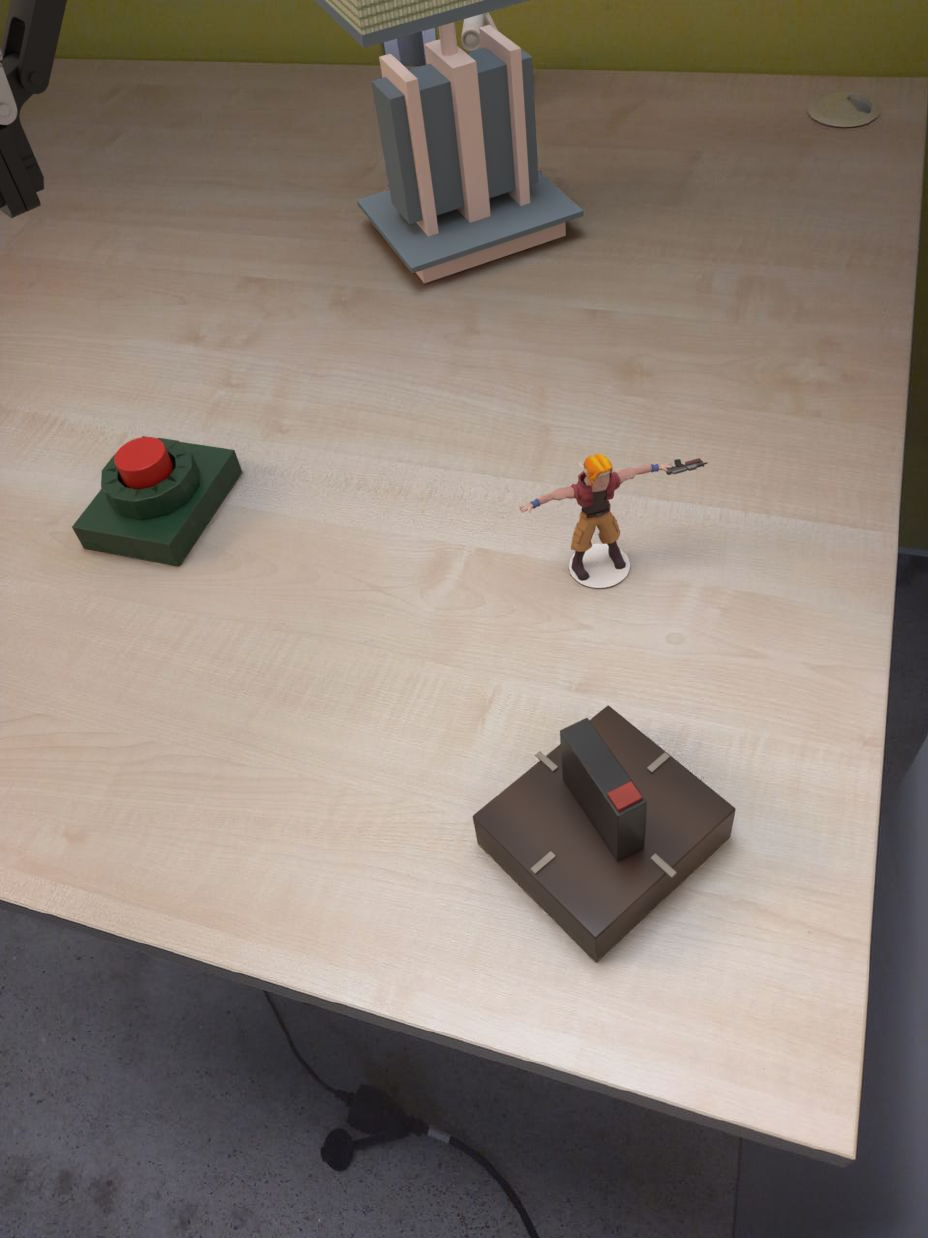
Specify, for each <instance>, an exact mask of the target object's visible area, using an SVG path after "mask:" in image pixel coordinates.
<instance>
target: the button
mask: <svg viewBox="0 0 928 1238" xmlns="http://www.w3.org/2000/svg"><path fill="white" fill-rule="evenodd" d="M157 438H158V437H154V436H146V437H142V436H140V437H137V438H134V439H132V440H129V441H127V442H125V443H124V444H123V445H121V446H120V447H119V448H118V450H117V451H116V453H114V454H115V458H114V462H115V465H116V467H117V469H118V471H119V473H120V475H121V477H122V479H123V481H124V483H125V484H126V485H127V486H129V487H131V488H134V489H144V488H149V487H153V486H155V485H157V484H159V483H160V482H162V481H164V480H165V479H167V478H168V476H169V475H170V474H171V472H172V468H173V464H172V461H171V459H170V457H169V454H168V452H167V450H166V447H165V445H164V443H163V442H162V441H161V440H159V439H157Z"/></svg>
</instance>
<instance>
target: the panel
mask: <svg viewBox="0 0 928 1238" xmlns="http://www.w3.org/2000/svg"><path fill="white" fill-rule="evenodd" d="M589 721H590V722H591V723H592V725H593V726H594V728H595V729H596V730H597V732H598V733H599V735H600V736H601V737H602V739H603V740H604V742H605V743H606V745H607V746H608V747H609V749H610V750H611V752H612V753H613V754H614V756H615V757H616V759H617V760H618V761H619V763H620V764H621V766H622V767H623V769H624V770H625V771H626V773H627V774H628V776H629V777H630V778H631V780H632V781H633V783H634V784H635V785H636V787H637V788H638V790H639V791H640V792H641V794H642V795H643V797H644V798H645V800H646V801H647V812H646V829H645V846H644V848H642V849H640V850H638V851H636V852H634V853H632V854H630V855H628V856H626V857H624V858H623V859H621V860H619V861H617V860H616V859H615V857H614V855H613V854H612V852H611V851H610V849H609V848H608V846H607V845H606V843H605V842H604V840H603V839H602V837H601V836H600V834H599V833H598V831H597V830H596V828H595V826H594V825H593V823H592V822H591V820H590V819H589V817H588V816H587V814H586V813H585V811H584V810H583V808H582V807H581V805H580V804H579V802H578V801H577V799H576V797H575V796H574V794H573V793H572V791H571V790H570V788H569V787H568V785H567V784H566V782H565V781H564V779H563V774H562V758H561V743H560V744H559V745H557V746H555V748H554V749H552V750H551V751H550V752H549V753H547V754H544V753H543V752H542V751H541V750H539V751H538V752H537V753H535V754H534V756H535V757H536V758H537V759H538V760H539V761H538V762H537V763H535V764H534V765H532V767H530V768H529V769H528V770H527V771H526V772H523V774H522V775H521V776H519V777H518V778H517V779H516V780H514V781H513V782H512V783H511V784H510V785H509V786H507V787H506V788H505V789H503V790H502V791H500V793H498V795H496V796H495V797H493V798H492V799H491V800H490V801H489V802H487V803H486V804H485V805H484V806H483V807H481V808H480V809H479V810H478V811H477V812H476V813H474V814H472V816H471V817H472V821H473V822H472V823H473V826H474V827H473V828H474V831H475V837H476V842H477V844H478V845H479V846H480V847H481V848H482V849H483V851H485V852H486V853H487V854H488V855H489V856H490V857H491V858H492V860H494V861H495V863H497V864H498V866H500V867H501V868H502V870H504V871H505V872H506V874H508V876H510V877H511V879H512V880H514V882H515V883H516V884H517V885H518V886H519V887H521V889H523V891H524V892H525V893H527V895H528V896H529V897H530V898H531V899H532V900H533V901H534V902H535V903H536V904H537V905H538V906H539V907H540V908H541V909H542V910H543V911H544V912H545V913H546V914H547V915H548V916H549V917H550V918H551V919H552V920H553V921H554V922H555V923H556V924H557V925H558V926H559V927H560V928H561V929H562V930H563V931H564V932H565V933H566V934H567V935H568V936H569V937H570V938H571V939H572V940H573V941H574V943H576V945H578V946H579V947H580V948H581V949H582V951H584V952H585V953H586V955H588V956H589V957H590V958H591V959H592V961H594V962H595V963H598V962H599V961H600V960H601V959H603V957H604V956H605V955H606V954H607V953H609V951H610V950H612V949H613V948H614V947H615V946H616V945H617V944H618V943H619V942H620V941H621V940H622V939H623V938H624V937H626V936H627V935H628V934H629V933H630V932H631V931H632V930H633V929H634V928H635V927H636V926H637V925H638V924H639V923H640V922H641V921H643V919H645V918H646V917H647V916H648V915H649V914H650V913H651V912H652V911H653V910H654V909H655V908H657V906H659V905H660V904H661V903H662V902H663V901H664V900H665V899H666V898H667V897H668V896H669V895H670V894H672V892H673V891H674V890H675V889H676V888H678V887H679V886H680V885H681V884H682V883H683V882H684V881H685V880H687V878H688V877H689V876H690V875H692V874H693V872H695V871H696V870H697V869H698V868H699V867H700V866H701V865H703V863H705V861H707V860H708V859H709V858H710V857H711V856H712V855H713V854H714V853H715V852H716V851H717V850H718V849H719V848H720V847H722V845H723V844H725V843H726V842H727V841H728V840H729V839H730V838H731V836H732V831H733V826H734V822H735V815H736V810H737V809H736V807H735V806H733V805H732V804H731V803H730V802H728V801H727V800H726V799H725V798H724V797H722V795H720V794H718V793H717V792H716V791H715V790H714V789H712V788H711V787H710V786H709V785H708V784H706V783H705V782H704V781H702V780H701V779H700V778H699V777H698V776H697V775H696V774H694V773H693V772H691V771H690V770H689V769H688V768H687V767H686V766H684V765H683V764H682V763H680V762H679V761H678V760H676V758H674V757H673V756H672V755H671V754H669V752H667V751H666V750H665V749H663V747H660V746H659V745H658V744H657V743H656V742H655V741H653V740H652V739H651V738H650V737H648V736H647V735H646V734H645V733H643V732H642V731H641V730H640V729H638V728H637V727H636V726H635V725H634V724H632V723H631V722H630V721H629V720H628V719H626V718H625V717H624V716H622V715H621V714H620V713H619V712H617V711H616V710H615V709H614V708H612V707H611V706H610V705H606V706H605V707H604V708H602V709H601V710H600V711H599V712H597V714H595V715H594V716H593V717H592V718H591V719H589Z"/></svg>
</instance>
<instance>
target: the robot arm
mask: <svg viewBox="0 0 928 1238" xmlns="http://www.w3.org/2000/svg"><path fill="white" fill-rule="evenodd" d="M67 1H68V0H9V5H8V9H7V15H6V20H5V25H4V30H3V35H2V40H1V45H0V211H1V212H2V213H3V214H5V215H6V216H7V217H8V218H10V219H13V218H16V217H18V216H20V215H22V214H25V213H27V212H30V211H32V210H34V209H36V208H39V207H41V205H42V204H41V200H40V197H39V195H38V193H39V192H40V191H43V190H45V179H44V177H45V176H44V174H43V172H42V169H41V167H40V165H39V161H38V160H37V158H36V156H35V153H34V151H33V149H32V147H31V144H30V142H29V139H28V137H27V135H26V132H25V130H24V127H23V125H22V123H21V118H20V117H21V114H20V113H21V110H22V107H23V106H24V104H25V103H26V102H27V101H28V100H29V99H30V98H31V97H32V96H33V95H39V94H43V93H44V92H45V91H47V89H48V87H49V84H50V79H51V75H52V71H53V70H52V69H53V66H54V61H55V58H56V51H57V49H58V43H59V38H60V36H61V35H60V34H61V29H62V25H63V20H64V16H65V11H66V8H67V3H68V2H67Z"/></svg>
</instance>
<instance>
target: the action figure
mask: <svg viewBox="0 0 928 1238" xmlns="http://www.w3.org/2000/svg"><path fill="white" fill-rule="evenodd" d="M673 463H674V466H673V464H672V462H669V461H667V462H664V463H660V464H659V463H655V464H653V463H651V464H643V465H640V466H637V467H628V468H623V469H621V470H619V471H618V472H616V471H613V464H612V462H611V460H610V459H609V458H608V457H607V456H606V455H605V454H603V453H596V454H593V455H589V456H587V457H586V458H585V460H584V462H583V463H582V462H581V461H580V462H578V463H577V464H578V466H579V468H580V469H583V470H582V472H580V473H579V474H578V475H577V483H576V484H575V483H572V484H571V485H570V486H563V487H560V488H556V489H555V490H553V491H552V492H549V493H546V494H542V495H540V496H539V497H538V498H535V499H534V500H532V501H530V503H526V504H524V505H521V506H519V507H518V510H519V511H520V513H524V512H527V511H528V513H529V514H531V511H532V510H534V509H536V508H538V507H541V506H542V505H545V504H547V503H549V502H551V501H559V502H560V501H563V500H566V499H571V500H572V499H575V500H576V504H577V505H578V506H580V507H581V511H580V513H579V515H578V516H579V519H578V522H577V523H576V525H575V527H574V531H573V533H572V537H571V538H572V539H571V543H570V550H571V551H574V553H573V555H572V556H571V558H570V559H569V562H568V569H569V573H570V575H571V576H572V578H573V579H574V580H575V581H576V582H578V583H579V584H581V585H583V586H585V587H589V588H595V589H603V588H609V587H613V586H615V585H617V584H619V583H620V582H622V581H624V579H625V578H627V575H628V574H629V572H630V569H631V563H630V558H629V556H628V555H627V554H626V553H625V552H624V551H623V550H622V549H621V548H620V547H619V545H618V540H619V538H620V536H621V530H620V526H619V524H618V520H617V518H616V517H615V515H614V514H613V513H612V512H611V503H610V500H613V499H614V497H615V491H616V490H618V489H619V488H620V486H621V485H622V484H623V483H624V482H626V481H628V480H633V479H634V478H635V477H636V476H638V475H644V474H649V473H654V472H656V473H657V472H659V471H664V472H665V473H666V475H667V476H671V475H678V474H682V473H685V472H687V471H689V472H691V471H695V470H697V469H698V468H701V467H703V468H704V467H705V465H707V464H709V463H708V461H706V462H704V460H702V459H701V458H700V457H699V458H694V459H691V460H687V461H685V462H684V463H682V459H680V458H678V459H674V461H673ZM596 528H597V529H598V533H597V535H598V538H599V541H600V543H592V539H593V536H594V535H595V531H596Z"/></svg>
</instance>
